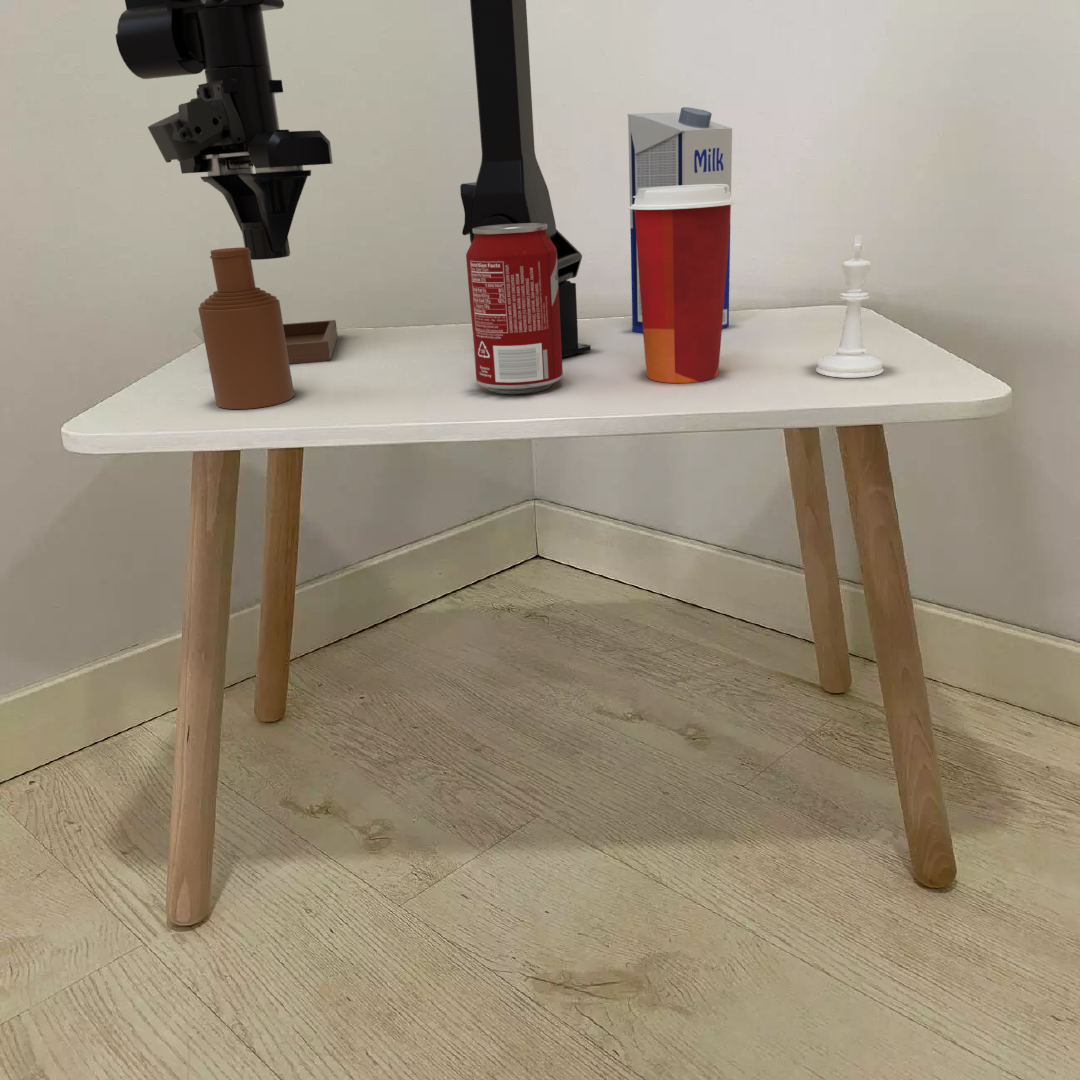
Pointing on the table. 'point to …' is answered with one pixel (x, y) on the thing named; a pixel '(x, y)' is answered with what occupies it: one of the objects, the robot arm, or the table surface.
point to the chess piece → (852, 327)
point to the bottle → (244, 337)
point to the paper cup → (682, 278)
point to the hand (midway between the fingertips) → (266, 251)
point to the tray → (310, 341)
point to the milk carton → (675, 169)
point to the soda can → (514, 308)
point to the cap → (260, 241)
